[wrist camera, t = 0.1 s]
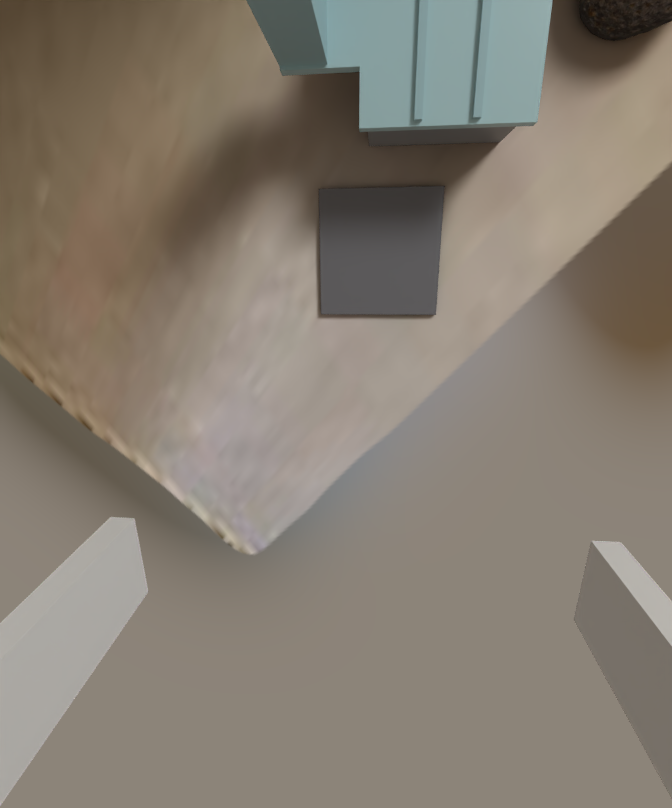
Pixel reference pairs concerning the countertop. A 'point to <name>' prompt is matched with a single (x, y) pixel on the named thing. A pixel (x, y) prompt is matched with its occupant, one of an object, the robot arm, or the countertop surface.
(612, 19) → the stone
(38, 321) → the countertop surface
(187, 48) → the countertop surface
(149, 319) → the countertop surface
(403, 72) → the pale blue ridged block
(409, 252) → the mat
